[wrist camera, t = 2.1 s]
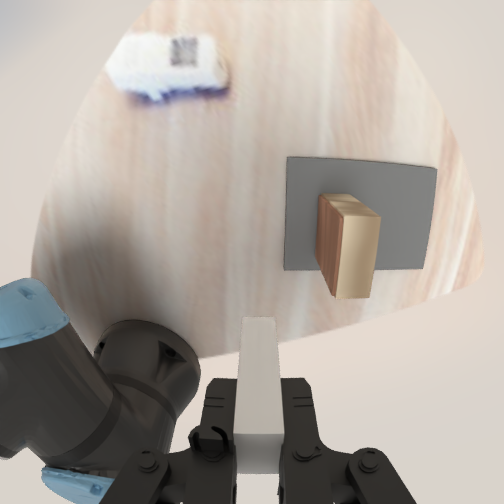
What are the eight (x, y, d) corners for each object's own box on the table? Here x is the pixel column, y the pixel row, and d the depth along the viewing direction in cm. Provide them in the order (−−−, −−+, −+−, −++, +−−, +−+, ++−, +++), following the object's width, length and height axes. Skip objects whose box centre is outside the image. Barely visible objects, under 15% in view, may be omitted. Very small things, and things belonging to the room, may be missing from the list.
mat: (283, 268, 35) (284, 270, 34) (286, 156, 31) (287, 157, 30) (420, 267, 35) (422, 269, 34) (434, 168, 30) (437, 169, 30)
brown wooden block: (314, 257, 34) (332, 298, 25) (318, 192, 31) (340, 215, 23) (343, 257, 34) (369, 297, 25) (349, 194, 31) (381, 216, 23)
